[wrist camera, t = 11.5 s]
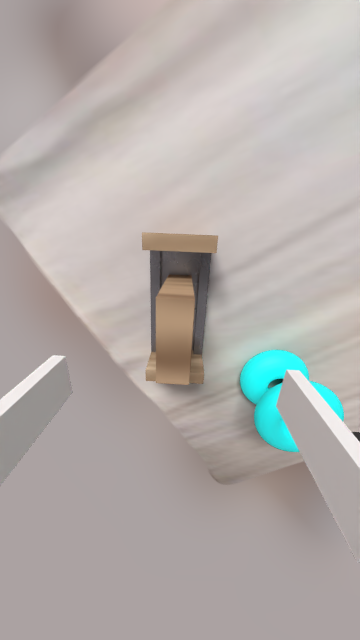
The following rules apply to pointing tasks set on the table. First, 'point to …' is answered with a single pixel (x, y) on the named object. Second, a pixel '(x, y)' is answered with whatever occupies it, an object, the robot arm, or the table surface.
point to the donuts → (277, 394)
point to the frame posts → (183, 245)
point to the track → (199, 270)
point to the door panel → (174, 329)
